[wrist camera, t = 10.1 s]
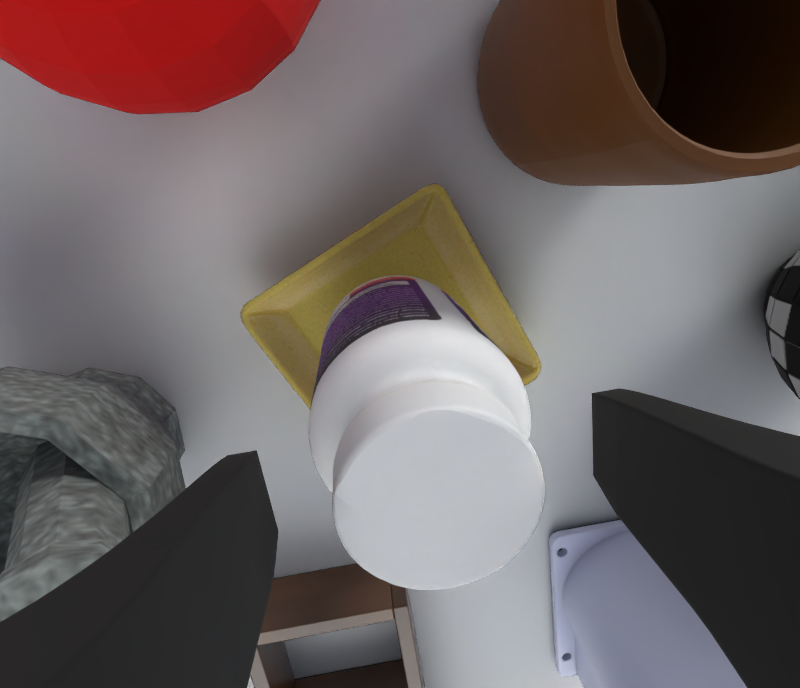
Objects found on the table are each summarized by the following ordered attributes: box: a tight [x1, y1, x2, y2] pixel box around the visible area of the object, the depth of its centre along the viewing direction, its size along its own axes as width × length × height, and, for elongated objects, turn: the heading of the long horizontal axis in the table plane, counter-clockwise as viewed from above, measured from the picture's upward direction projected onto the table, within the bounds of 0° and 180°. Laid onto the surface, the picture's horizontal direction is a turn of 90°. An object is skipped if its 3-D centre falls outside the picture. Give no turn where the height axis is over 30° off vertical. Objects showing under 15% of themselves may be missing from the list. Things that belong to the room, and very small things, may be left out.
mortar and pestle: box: [0, 367, 186, 622], centre depth 15 cm, size 11×9×12 cm
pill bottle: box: [309, 275, 545, 590], centre depth 13 cm, size 5×5×10 cm
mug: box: [478, 0, 800, 186], centre depth 13 cm, size 12×8×9 cm, turn 114°
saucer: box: [241, 184, 541, 409], centre depth 19 cm, size 9×9×2 cm
